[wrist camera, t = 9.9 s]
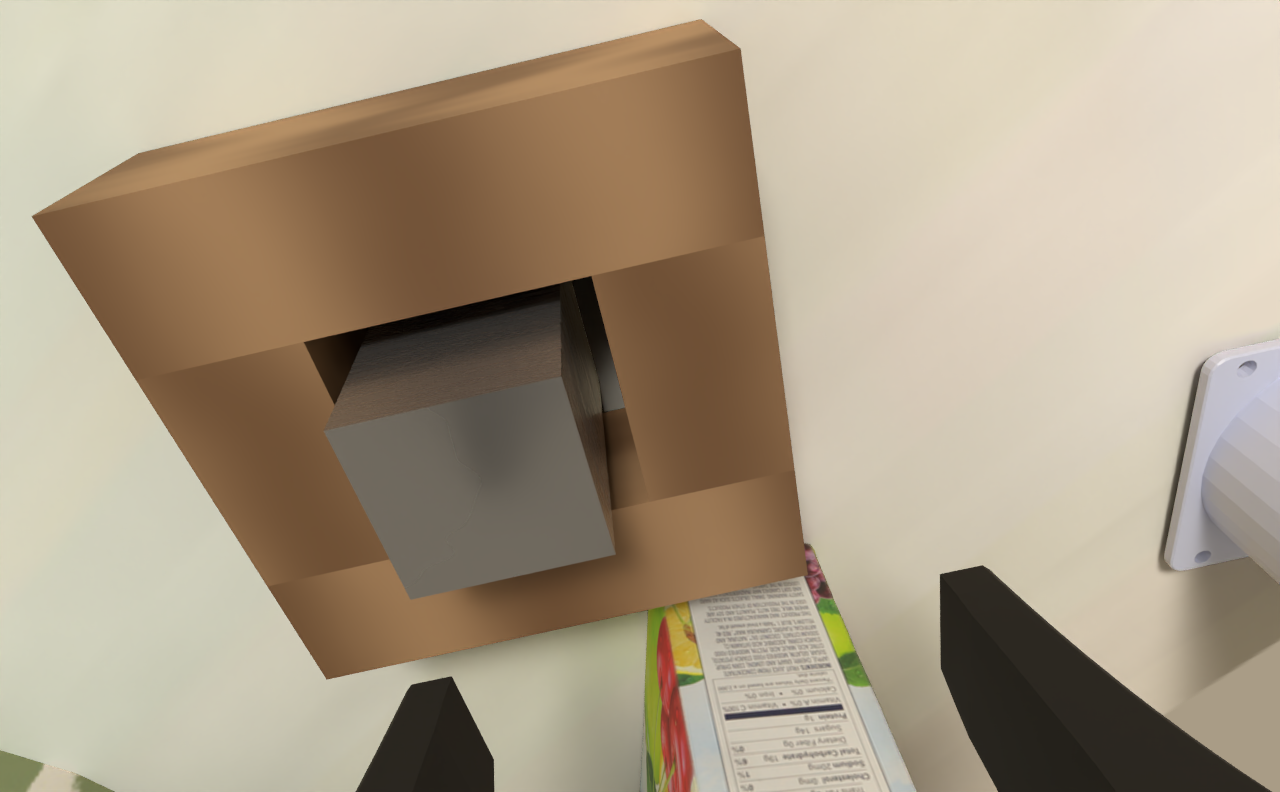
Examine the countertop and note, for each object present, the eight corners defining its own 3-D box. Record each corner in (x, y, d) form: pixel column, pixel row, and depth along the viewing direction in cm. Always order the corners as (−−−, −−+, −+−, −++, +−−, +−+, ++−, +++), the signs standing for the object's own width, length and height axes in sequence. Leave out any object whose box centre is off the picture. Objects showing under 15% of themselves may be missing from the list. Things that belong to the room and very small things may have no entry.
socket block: (701, 19, 16) (740, 48, 13) (769, 474, 23) (808, 574, 19) (138, 153, 17) (31, 216, 13) (360, 565, 23) (327, 679, 20)
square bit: (559, 236, 18) (560, 376, 13) (599, 380, 21) (615, 554, 15) (392, 275, 19) (323, 431, 13) (448, 414, 21) (410, 600, 15)
